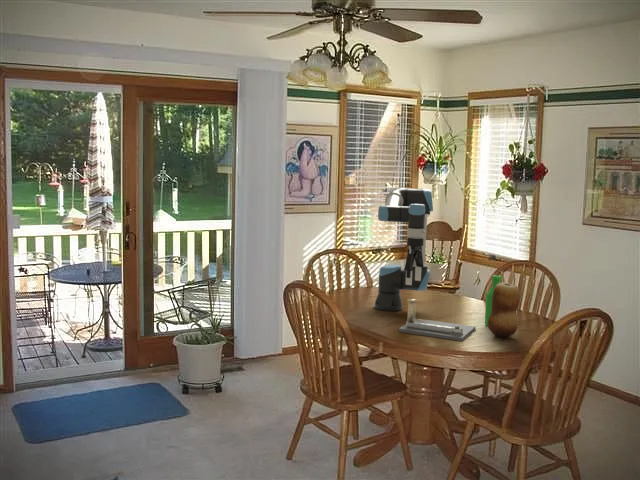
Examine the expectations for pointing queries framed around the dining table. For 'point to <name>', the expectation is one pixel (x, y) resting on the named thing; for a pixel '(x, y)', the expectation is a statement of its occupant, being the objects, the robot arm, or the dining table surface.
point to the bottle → (489, 297)
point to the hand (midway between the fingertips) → (413, 282)
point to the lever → (412, 323)
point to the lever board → (440, 334)
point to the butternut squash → (504, 310)
